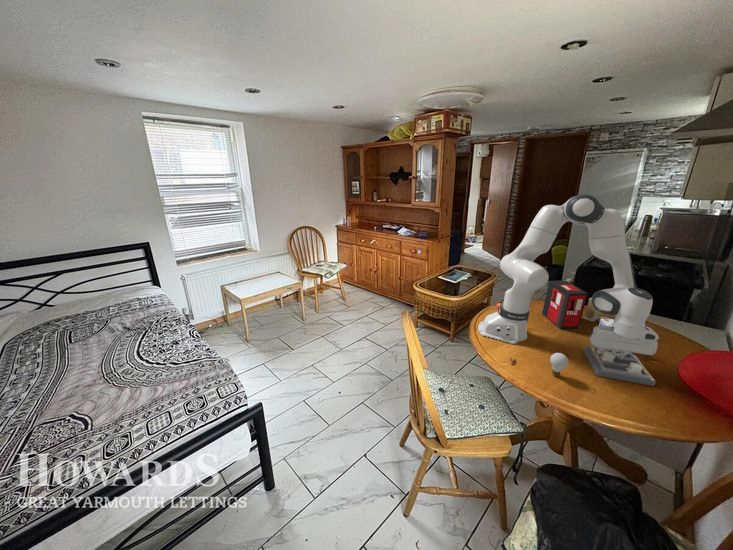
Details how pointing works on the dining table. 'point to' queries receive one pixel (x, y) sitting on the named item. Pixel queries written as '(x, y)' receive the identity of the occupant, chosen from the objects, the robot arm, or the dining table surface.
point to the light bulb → (558, 363)
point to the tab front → (634, 368)
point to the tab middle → (607, 356)
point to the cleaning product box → (564, 304)
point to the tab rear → (602, 350)
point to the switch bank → (618, 367)
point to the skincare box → (591, 312)
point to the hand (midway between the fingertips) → (616, 358)
